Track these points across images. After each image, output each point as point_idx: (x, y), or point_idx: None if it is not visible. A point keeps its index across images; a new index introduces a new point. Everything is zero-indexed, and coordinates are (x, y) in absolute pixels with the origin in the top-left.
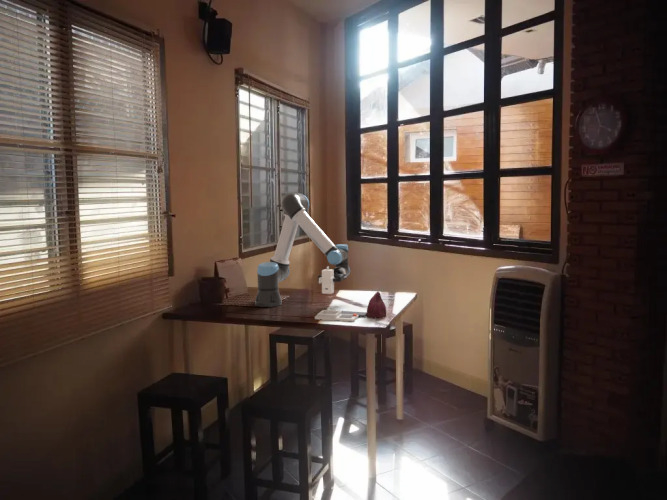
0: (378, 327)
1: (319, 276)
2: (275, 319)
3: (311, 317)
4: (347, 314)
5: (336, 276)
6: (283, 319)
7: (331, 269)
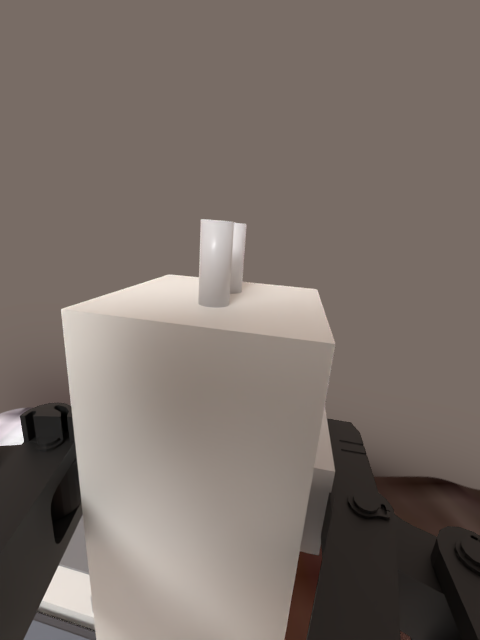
0: (20, 412)
1: (440, 535)
2: (476, 516)
3: (310, 571)
4: (49, 588)
5: (46, 419)
6: (437, 516)
7: (130, 309)
